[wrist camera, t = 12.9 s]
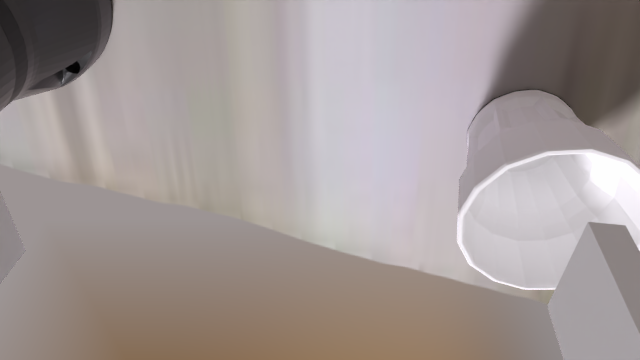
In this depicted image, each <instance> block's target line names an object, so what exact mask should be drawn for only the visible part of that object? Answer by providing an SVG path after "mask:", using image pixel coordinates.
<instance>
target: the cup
mask: <svg viewBox="0 0 640 360" xmlns="http://www.w3.org/2000/svg"><path fill="white" fill-rule="evenodd" d="M467 148H468V155H467V166H466V169H465V170H464V172H463V174H462V175H461V177H460V179H459V198H458V221H457V243H458V245H459V246H460V248H461V250H462V252H463V254H464V256H465V258H466V260H467V261H468V263H469V265H471V266H472V267H474V268H475V269H477V270H478V271H480V272H481V273H482V274H484V275H485V276H487V277H488V278H490V279H491V280H493V281H495V282H499V283H502V284H506V285H510V286H513V287H517V288H520V289H524V290H551V289H556V287H557V285H558V283H559V281H560V279H561V277H562V275H563V273H564V270H565V268H566V266H567V264H568V262H569V260H570V258H571V256H572V254H573V252H574V250H575V248H576V246H577V244H578V241H579V239H580V237H581V235H582V233H583V231H584V229H585V227H586V225H587V223H588V222H596V223H606V224H617V225H626V227H627V229H628V231H629V233H630V235H631V236H632V238H633V240H634V242H635V244H636V246H637V248H638V249H639V251H640V166H639V165H638V164H637V163H636V162H635V161H634V160H633V159H632V158H631V157H630V156H629V155H628V154H627V153H626V152H625V151H624V150H623V149H622V148H621V147H620V146H618V145H617V144H616V143H615V142H614V141H613V140H612V139H610V138H609V137H608V136H607V135H606V134H605V133H604V132H603V131H601V130H600V129H597V128H594V127H591V126H588V125H585V124H584V123H583V122H582V121H581V120H580V119H579V118H578V117H576V115H575V114H574V112H573V111H572V109H571V108H570V107H569V106H568V105H567V104H566V103H565V102H564V101H562V100H561V99H560V98H558V97H557V96H555V95H552V94H549V93H546V92H543V91H540V90H525V91H516V92H512V93H509V94H506V95H504V96H501V97H499V98H496V99H494V100H492V101H491V102H490V103H489V104H488V105H486V106H485V107H484V108H483V109H482V110H481V111H480V112H479V113H478V114H477V115H476V117H475V118H474V120H473V122H472V123H471V125H470V127H469V129H468V134H467Z"/></svg>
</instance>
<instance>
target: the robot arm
mask: <svg viewBox="0 0 640 360" xmlns="http://www.w3.org/2000/svg"><path fill="white" fill-rule="evenodd" d="M111 23H112V9H111V1H110V0H0V111H1V110H2V109H3V108H5V107H6V106H7V105H8V104H9V103H10V102H12V101H13V100H17V99H21V98H24V97H28V96H31V95H35V94H39V93H42V92H46V91H50V90H53V89H57V88H60V87H62V86H65V85H67V84H69V83H71V82H72V81H74V80H76V79H77V78H78V77H80V76H81V75H82V74H83V73H84V72H85V71H86V70H87V69H88V68H89V67H90V66H92V65H93V64H94V63H95V62H96V60H97V59H98V58H99V57H100V55H101V54H102V52H103V51H104V49H105V47H106V44H107V42H108V39H109V35H110V31H111ZM25 251H26V250H25V248H24V245H23V243H22V241H21V238H20V236H19V233H18V231H17V229H16V227H15V224H14V222H13V220H12V217H11V215H10V213H9V210H8V208H7V206H6V203H5V201H4V199H3V196H2V194H1V192H0V283H1V282H2V281H3V280H4V278H5V277H6V276H7V274H8V273H9V272H10V270H11V269H12V268H13V266H14V265H15V264H16V263H17V261H18V260H19V259H20V258H21V256H22V255H23V254H24V252H25ZM547 307H548V310H549V313H550V316H551V320H552V322H553V326H554V329H555V333H556V336H557V339H558V342H559V346H560V348H561V352H562V355H563V358H564V360H640V251H639V249H638V248H637V246H636V244H635V242H634V240H633V238H632V236H631V235H630V233H629V231H628V229H627V227H626V225H617V224H606V223H596V222H588V223H587V225H586V227H585V229H584V231H583V233H582V235H581V237H580V239H579V241H578V244H577V246H576V248H575V250H574V252H573V254H572V256H571V258H570V260H569V262H568V264H567V266H566V268H565V270H564V273H563V275H562V277H561V279H560V281H559V283H558V285H557V287H556V289H555V291H554V293H553V295H552V297H551V299H550V302H549V304H548V306H547Z"/></svg>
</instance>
